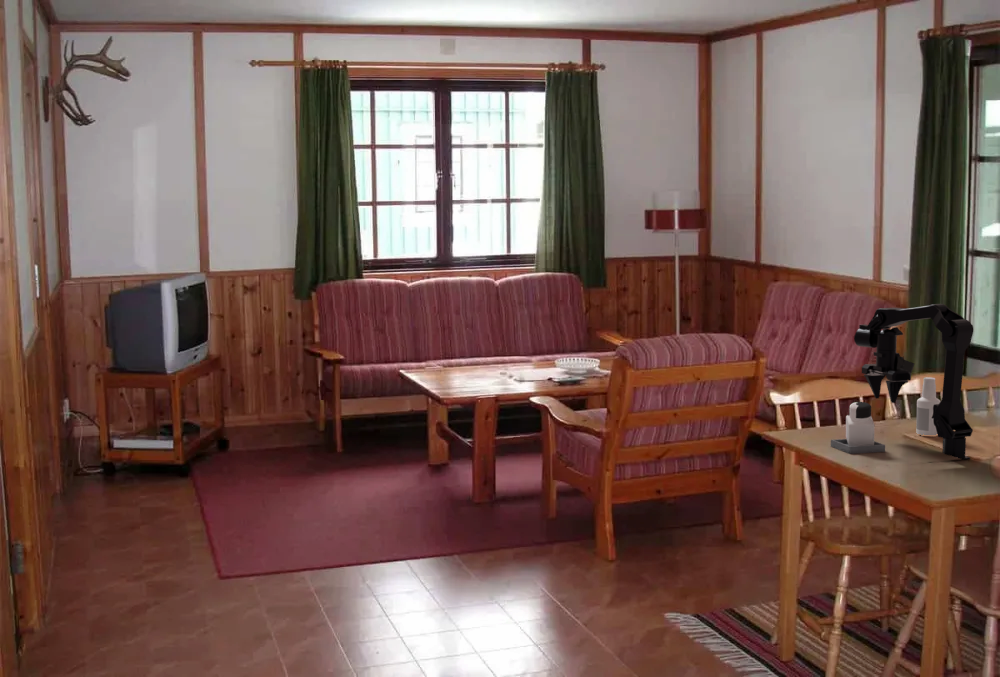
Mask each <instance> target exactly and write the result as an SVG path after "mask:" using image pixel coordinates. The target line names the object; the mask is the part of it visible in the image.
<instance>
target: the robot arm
mask: <svg viewBox="0 0 1000 677" xmlns="http://www.w3.org/2000/svg"><path fill="white" fill-rule="evenodd" d="M929 319H931V320H932V322H933V324H934V327H935V328H936V329H937V330H938V331H939V332H940V333H941V341H942V344H943V346H944V348H945V360H944V373H943V384H942V393H941V394H942V395H941V400H940V401H941V402H940V403H939V404H935V405H934V406H933V416H932V419H933V418H934V419H933V423H934V426H935V427H936V431H937V434H938V437H937V438H941V439H942V452H941V453H943V454H944V455H946V456H947V455H948V456H951V457H954V458H957V459H958V460H970V459H971V457H969V456H967V455H966V450H967V449H966V446H967V443H966V442H967V438H966V437H971V436H972V434H973V431H974V430H973V428H972V427H971V426H970V424H969V422H967V420H966V417H965V415H966V414H965V412H966V411H965V408H964V406H963V404H962V402H961V393H962V384H963V375H964V374H963V373H964V362H965V352H966V350H967V349H968V347H969V346H970V344H971V342H972V339H973V334H974V325H973V324H972V323H971V321H970V320H967V319H965V318H964V317H963V315H960V314H959V313H957V312H955V311H953V310H952V309H950V307H948V306H947V305H946V304H944V303H935V304H930V305H924V306H917V307H910V308H902V307H885V308H884V307H883V308H882V307H881V308H877V309H876V310H875V312H874V315H873V317H872V318H871V320H870V321H869V322H868V324H859V326H858V329H857V330H856V332H855V334H854V336H853V339H854V343H855V344H856V346H858V347H862V348H863V347H864V348H873V349H876V351H873V356H874V357H876V360H875V363H868V364H867V363H865V364H863V365H862V367H861V374H863V377H864V378H865V379H866V381H867V383H868V385H869V387H870V389H871V391H872V393H873V396H874V398H875V399H879V398H880V396H881V388H882V381H883V380H884V378H885V377H886V380H885V383H886V387H887V391H888V395H889V399H890V402H891V404H895V403H896V401H897V399H898V396H899V393H900V391H901V388H902V387H903V386H904V385H905V384H907V383H908V382H909V381H912V372H913V370H914V367H915V363H914V362H911V361H909V360H906V359H904V357H903V356H901V354H900V352H897V339H898V338H897V336H903V335H904V332H902V331H901V330H900V328H899V327H898V326H901V325H904V324H905V323H907V322H910V321H918V320H929Z"/></svg>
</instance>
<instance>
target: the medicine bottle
mask: <svg viewBox="0 0 1000 677" xmlns="http://www.w3.org/2000/svg"><path fill="white" fill-rule="evenodd" d="M845 439H847V442H848V445H849V446H867V445H874V441H875V423H874V420H873V417H872V405H871V404H870V403H868V402H865V401H856V402H852V403H851V404H850V405H849V414H847V415H846V416H845Z"/></svg>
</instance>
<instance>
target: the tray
mask: <svg viewBox="0 0 1000 677" xmlns="http://www.w3.org/2000/svg"><path fill="white" fill-rule="evenodd" d="M830 448H834V449H836V450H838V451H842V452H844V453H847V454H869V453H872V454H873V453H885V452H886V444H883V443H882V442H878V441H876V440H874V445H867V446H849V445H848V442H847V439H846V438H842V439H841V438H837V439H830Z"/></svg>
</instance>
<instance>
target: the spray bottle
mask: <svg viewBox="0 0 1000 677" xmlns="http://www.w3.org/2000/svg"><path fill="white" fill-rule="evenodd" d="M921 390H922V392H921V397H919V398H918V399H917V400H916V423H915V424H916V426H915V428H916V430H915V431H916V432H915V433H917V434H921V435H923V434H924V435H936V434H937V431H936V427H935V426H934V423H933V419H934V418H933V419H932V416H933V406H934V405H935V404H939V403H940V402H941V400H940V399H939V398H938V397H937V391H936V390H937V384H936V377H929V376H928V377H927V376H926V377H923V383H922V389H921ZM917 434H916V435H917Z"/></svg>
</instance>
